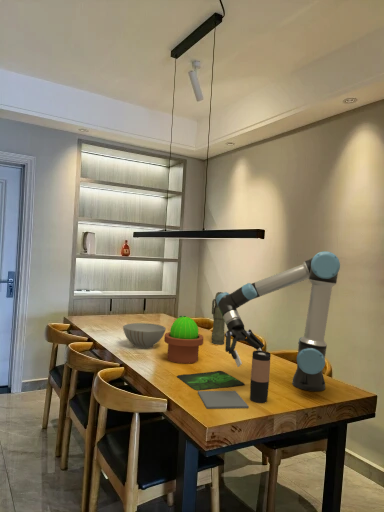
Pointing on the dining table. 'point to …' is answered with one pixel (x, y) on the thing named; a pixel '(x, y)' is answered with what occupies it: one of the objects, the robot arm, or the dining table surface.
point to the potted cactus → (183, 341)
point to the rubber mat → (222, 399)
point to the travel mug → (260, 376)
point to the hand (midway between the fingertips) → (252, 363)
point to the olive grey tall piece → (217, 324)
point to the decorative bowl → (143, 334)
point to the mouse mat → (209, 380)
